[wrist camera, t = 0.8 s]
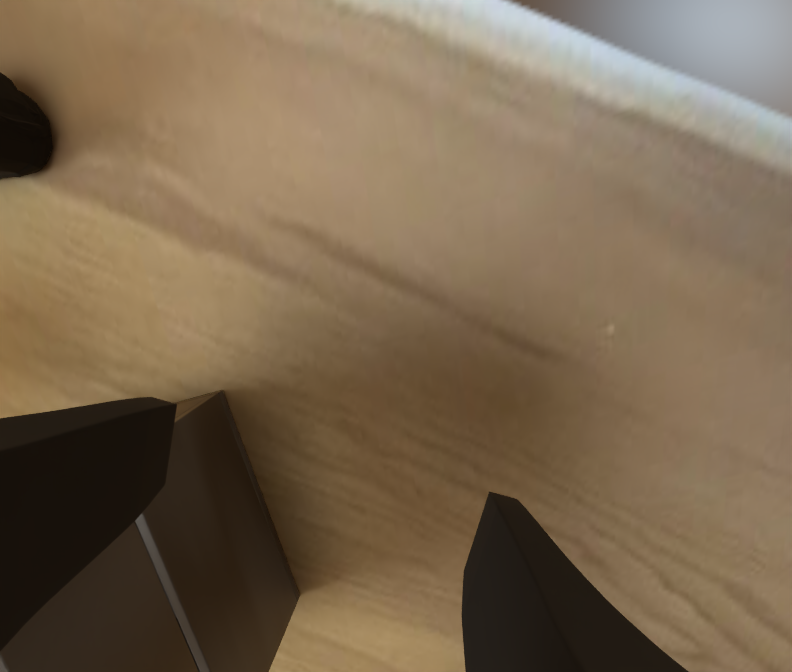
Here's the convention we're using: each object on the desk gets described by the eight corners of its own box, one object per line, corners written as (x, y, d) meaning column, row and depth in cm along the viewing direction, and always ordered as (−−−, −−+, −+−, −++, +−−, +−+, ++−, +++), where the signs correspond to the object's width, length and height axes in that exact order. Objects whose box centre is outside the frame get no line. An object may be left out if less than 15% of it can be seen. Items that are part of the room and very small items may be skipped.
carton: (23, 444, 23) (-150, 529, 17) (222, 389, 22) (120, 459, 15) (109, 632, 25) (-15, 777, 18) (300, 595, 23) (240, 741, 17)
